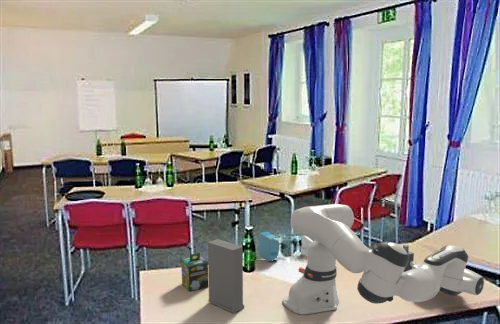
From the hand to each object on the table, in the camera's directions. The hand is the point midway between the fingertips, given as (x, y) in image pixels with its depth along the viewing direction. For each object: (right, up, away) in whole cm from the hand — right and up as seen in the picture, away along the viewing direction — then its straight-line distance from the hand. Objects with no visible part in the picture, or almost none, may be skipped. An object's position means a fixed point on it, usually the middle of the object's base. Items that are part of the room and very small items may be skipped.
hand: (419, 261), depth 204 cm
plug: (-4, -7, +8) cm, 11 cm away
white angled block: (-45, -4, +35) cm, 57 cm away
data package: (-65, -5, +30) cm, 71 cm away
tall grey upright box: (-83, -13, -20) cm, 86 cm away
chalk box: (-97, -10, -2) cm, 98 cm away
